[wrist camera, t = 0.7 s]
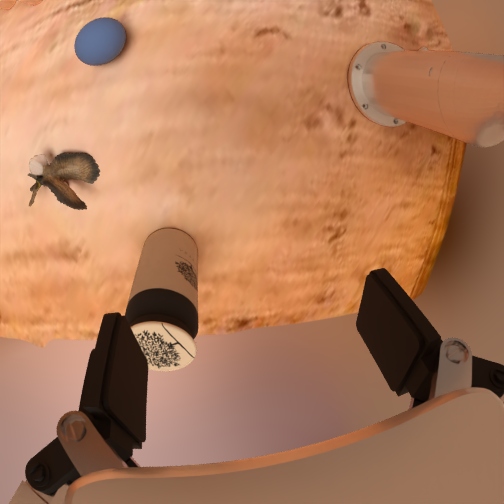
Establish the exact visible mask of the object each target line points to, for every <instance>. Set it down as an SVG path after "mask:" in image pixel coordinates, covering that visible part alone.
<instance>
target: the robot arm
mask: <svg viewBox="0 0 504 504" xmlns="http://www.w3.org/2000/svg"><path fill="white" fill-rule="evenodd" d="M355 66H356V68H355ZM348 83H349V89H350V93H351V96H352V98H353V101H354V103H355V105H356V106H357V108H358V109H359V110H360V112H361V113H362V114H363V115H364V116H365V117H367V118H368V119H369V120H371V121H372V122H375V123H377V124H379V125H383V126H388V127H397V126H400V125H403V124H405V123H407V122H409V123H413V124H416V125H419V126H422V127H425V128H428V129H431V130H434V131H436V132H439V133H442V134H444V135H447V136H450V137H452V138H455V139H457V140H460V141H463V142H465V143H468V144H470V145H474V146H477V147H490V146H493V145H496V144H498V143H499V142H501V141H503V140H504V55H492V54H480V53H469V52H454V51H429V50H428V49H427V48H426V47H424V46H423V47H421V48H420V49H419V50H418V51H405V50H404V49H403V48H401V47H400V46H398V45H395V44H393V43H389V42H374V43H370V44H368V45H365V46H363V47H362V48H361V49H360V50H358V52H357V53H356V54H355V55H354V57H353V59H352V61H351V63H350V67H349V72H348ZM363 105H364V106H363ZM356 326H357V330H358V332H359V333H360V335H361V337H362V338H363V340H364V342H365V344H366V345H367V347H368V349H369V351H370V353H371V354H372V356H373V358H374V360H375V361H376V363H377V365H378V367H379V368H380V370H381V372H382V374H383V376H384V378H385V379H386V381H387V383H388V385H389V387H390V389H391V390H392V391H395V392H396V393H397V395H398V396H401V395H403V394H405V393H407V392H409V393H410V395H411V401H410V405H409V409H408V410H407V411H405V412H403V413H400V414H398V415H396V416H394V417H391V418H389V419H386V420H384V421H381V422H379V423H377V424H374V425H371V426H368V427H366V428H363V429H361V430H357V431H354V432H352V433H349V434H346V435H343V436H340V437H336V438H333V439H330V440H327V441H323V442H320V443H316V444H313V445H309V446H306V447H301V448H297V449H293V450H289V451H285V452H280V453H275V454H271V455H265V456H260V457H254V458H248V459H242V460H235V461H228V462H220V463H210V464H199V465H186V466H167V467H140V466H139V464H138V463H137V462H136V461H135V460H134V459H133V458H132V455H133V449H142V442H145V440H146V403H147V381H148V362H147V359H146V357H145V355H144V353H143V351H142V349H141V347H140V345H139V343H138V341H137V339H136V337H135V335H134V333H133V331H132V329H131V327H130V325H129V323H128V321H127V319H126V317H125V316H121V314H120V313H119V312H117V313H108V314H105V315H104V316H103V320H102V323H101V327H100V331H99V335H98V339H97V343H96V347H95V349H93V350H92V351H91V354H90V357H89V362H88V367H87V370H86V375H85V380H84V385H83V390H82V395H81V400H80V406H79V411H70V412H68V413H66V414H64V415H63V416H62V417H61V418H60V420H59V422H58V425H57V435H58V437H57V438H56V439H54V440H53V441H52V442H51V443H49V444H48V445H47V446H46V447H45V448H43V449H42V450H41V451H40V452H39V453H37V454H36V455H35V456H34V457H33V458H31V459H30V460H29V462H28V463H27V465H26V470H25V474H26V479H27V480H26V482H25V481H22V482H21V484H20V486H19V487H18V489H17V491H16V492H15V494H14V496H13V497H12V499H11V501H10V503H9V504H504V366H503V365H501V364H499V363H495V362H492V361H488V360H485V359H482V358H478V357H475V356H472V352H471V349H470V347H469V346H468V345H467V343H466V342H464V341H463V340H461V339H458V338H453V337H452V338H448V339H446V340H444V341H442V340H441V336H440V335H439V334H438V332H437V331H436V330H435V328H434V327H433V326H432V325H431V323H430V322H429V321H428V319H427V318H426V317H425V316H424V314H423V313H422V312H421V311H420V310H419V308H418V307H417V306H416V304H415V303H414V302H413V301H412V299H411V298H410V297H409V296H408V295H407V293H406V292H405V291H404V290H403V289H402V287H401V286H400V285H399V284H398V283H397V282H396V280H395V279H394V278H393V277H392V276H391V275H390V273H389V272H388V271H387V270H386V269H385V268H382V269H377V270H372V271H371V272H370V273H369V275H367V277H366V281H365V286H364V290H363V295H362V300H361V304H360V308H359V313H358V317H357V321H356Z"/></svg>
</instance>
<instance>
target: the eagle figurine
mask: <svg viewBox="0 0 504 504" xmlns="http://www.w3.org/2000/svg"><path fill="white" fill-rule="evenodd" d="M98 167H99V166H98V165H97V164H96V163H95V160H93V158H92V156H90V155H87V154H83V153H80V154H79V153H75V154H73V153H72V154H70V153H69V154H67V153H63V154H60V155H57V157H55V159H54V160H53V162H52V163H50V165H48V162H47V159H46V156H45V155H42V154H41V155H36V156H34V157H33V158H32V159H31V160H30V162H29V169H30V172H31V174H30V173H29V174H28V176H30V177H32V178H34V179H35V180H36V183H35V184H34V185H33V186H32V187H31V188H30V191H33V194H32V198H31V200H30V203H29V206H31V205H32V204H33V202H34V199H35V196H36V193H37V191H38V190H39V188H40V187H41V185H43V186H47V187H49V189H51V192H53V193H54V194H55V196H56V197H57V200H58V201H60V202H61V203H63V204H66V205H67V206H69V207H71V208H73V209H78V210H80V209H81V210H83V209H87V208H86V207H87V206H86V205H85V203H84V202H83V201H81V200H80V199H79V198H78V197H77V195H76V194H75V192H74V191H73V190H72V189H71V188H70V187H69V186H68V184H67V183H66V182H64V180H65V179H76V180H82V181H84V182H87V183H91V184H93V183H94V181H96V180H97V177H99V176H100V174H99V172H100V170H99V169H98Z"/></svg>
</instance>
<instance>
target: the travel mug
mask: <svg viewBox="0 0 504 504" xmlns="http://www.w3.org/2000/svg"><path fill="white" fill-rule="evenodd" d="M125 317H126V319H127V321H128V323H129V325H130V327H131V329H132V331H133V333H134V335H135V337H136V339H137V341H138V343H139V345H140V347H141V349H142V351H143V353H144V355H145V357H146V359H147V362H148V369H151V370H157V371H172V370H177V369H180V368H183V367H185V366H187V365H188V364H190V363H191V362H192V360H193V359H194V358H195V356H196V351H197V348H196V344H195V342H194V338H195V337H196V335H197V332H198V252H197V247H196V244H195V242H194V241H193V239H192V238H191V237H190V236H189V235H187V234H186V233H184V232H182V231H180V230H177V229H171V228H167V229H161V230H158V231H156V232H154V233H152V234H151V235H150V236H149V237H148V238H147V240H146V241H145V244H144V247H143V250H142V253H141V257H140V260H139V264H138V267H137V271H136V274H135V278H134V281H133V285H132V289H131V293H130V297H129V301H128V305H127V309H126V313H125Z"/></svg>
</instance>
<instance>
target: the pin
mask: <svg viewBox="0 0 504 504" xmlns="http://www.w3.org/2000/svg"><path fill="white" fill-rule="evenodd" d="M15 3H16V0H0V9H4V10H9V9H11V8H12V7H13V6H14V4H15Z"/></svg>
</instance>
